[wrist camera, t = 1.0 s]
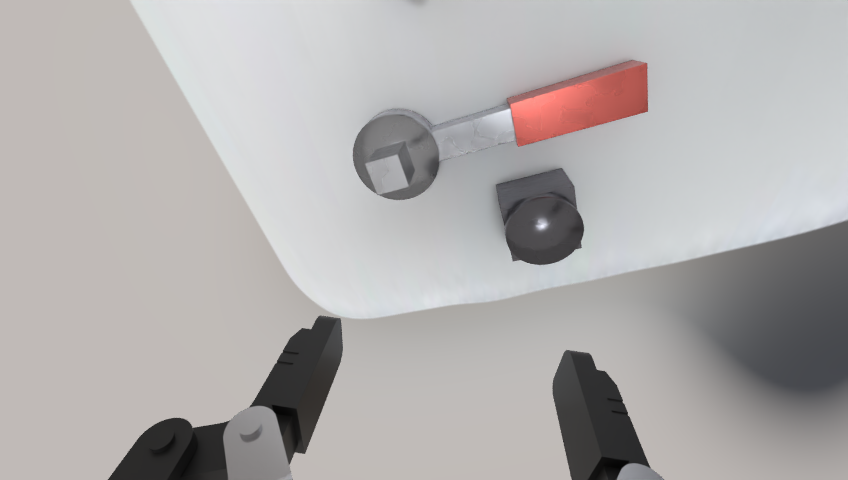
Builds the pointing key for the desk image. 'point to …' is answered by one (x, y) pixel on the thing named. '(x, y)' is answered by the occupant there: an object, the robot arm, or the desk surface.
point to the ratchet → (492, 127)
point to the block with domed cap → (541, 217)
